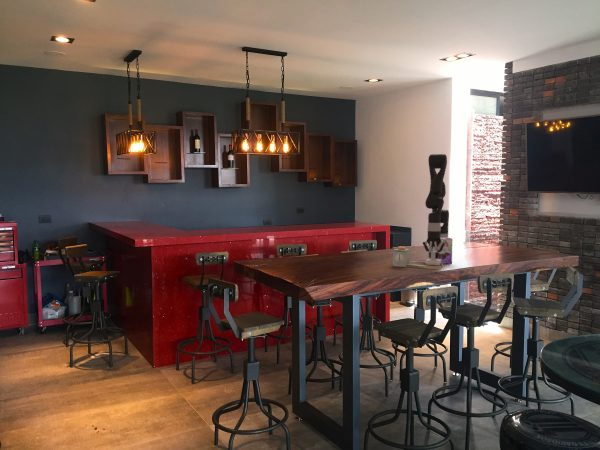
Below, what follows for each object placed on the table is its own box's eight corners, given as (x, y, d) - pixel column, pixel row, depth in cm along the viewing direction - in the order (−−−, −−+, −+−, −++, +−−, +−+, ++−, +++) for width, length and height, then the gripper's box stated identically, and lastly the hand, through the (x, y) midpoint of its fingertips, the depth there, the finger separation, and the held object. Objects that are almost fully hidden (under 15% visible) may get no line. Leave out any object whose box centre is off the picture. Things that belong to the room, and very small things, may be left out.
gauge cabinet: (397, 263, 320) (397, 248, 320) (409, 264, 317) (410, 248, 316) (392, 266, 311) (393, 250, 310) (405, 267, 307) (405, 250, 307)
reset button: (399, 252, 316) (399, 246, 316) (406, 253, 314) (406, 246, 314) (397, 253, 312) (397, 247, 312) (404, 254, 311) (404, 247, 310)
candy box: (432, 264, 317) (432, 238, 316) (427, 263, 323) (428, 237, 321) (452, 263, 320) (452, 238, 318) (447, 262, 325) (448, 237, 324)
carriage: (428, 262, 311) (428, 250, 310) (441, 263, 307) (441, 251, 306) (425, 264, 303) (425, 252, 303) (438, 265, 300) (439, 252, 299)
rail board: (409, 264, 317) (410, 259, 317) (443, 267, 308) (443, 262, 307) (405, 267, 308) (405, 262, 308) (439, 269, 299) (440, 264, 298)
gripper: (447, 230, 304) (446, 258, 305) (423, 229, 310) (423, 257, 311) (444, 231, 297) (444, 260, 298) (421, 230, 303) (420, 258, 305)
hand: (433, 258), depth 305 cm, fingers closed on carriage, 2 cm apart
